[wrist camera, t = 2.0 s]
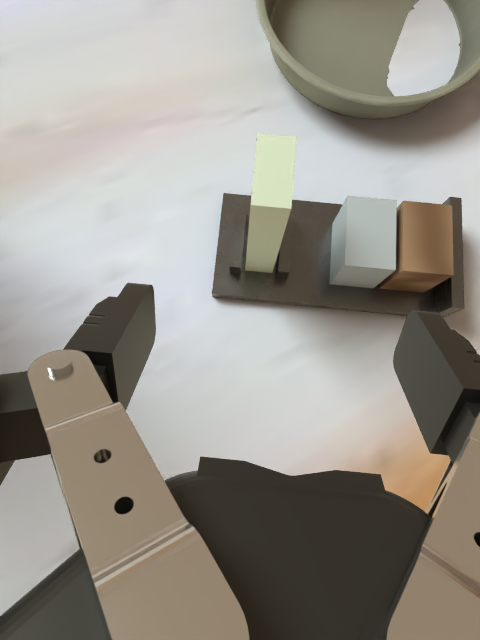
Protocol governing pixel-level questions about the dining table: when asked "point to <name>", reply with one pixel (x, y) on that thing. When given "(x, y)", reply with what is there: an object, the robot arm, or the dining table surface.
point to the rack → (319, 265)
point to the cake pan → (357, 51)
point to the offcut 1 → (363, 242)
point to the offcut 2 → (422, 247)
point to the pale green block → (270, 200)
